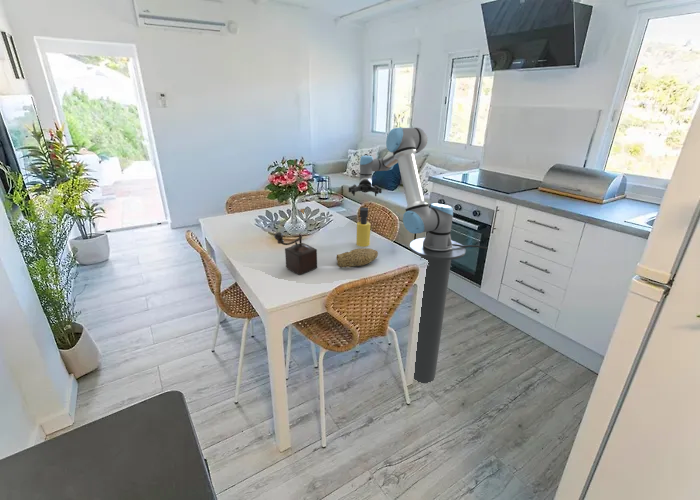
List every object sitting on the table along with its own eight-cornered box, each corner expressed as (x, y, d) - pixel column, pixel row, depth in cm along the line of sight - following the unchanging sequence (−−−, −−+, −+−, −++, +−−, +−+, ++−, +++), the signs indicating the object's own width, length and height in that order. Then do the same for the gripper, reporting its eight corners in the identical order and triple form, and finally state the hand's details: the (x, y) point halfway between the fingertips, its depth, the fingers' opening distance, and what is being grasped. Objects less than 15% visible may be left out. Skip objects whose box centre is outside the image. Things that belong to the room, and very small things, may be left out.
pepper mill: (302, 260, 164) (301, 224, 157) (317, 267, 157) (317, 230, 150) (275, 270, 154) (271, 232, 147) (289, 279, 147) (287, 239, 140)
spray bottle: (369, 242, 189) (371, 207, 182) (369, 247, 182) (371, 211, 174) (356, 241, 189) (357, 206, 182) (356, 247, 182) (357, 210, 175)
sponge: (339, 273, 156) (383, 263, 157) (336, 257, 154) (379, 246, 155) (337, 265, 168) (377, 256, 169) (334, 250, 166) (374, 240, 168)
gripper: (384, 192, 208) (386, 201, 188) (345, 190, 209) (342, 199, 189) (385, 179, 205) (387, 187, 185) (345, 178, 206) (343, 185, 186)
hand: (364, 193), depth 187 cm, fingers open, 11 cm apart
